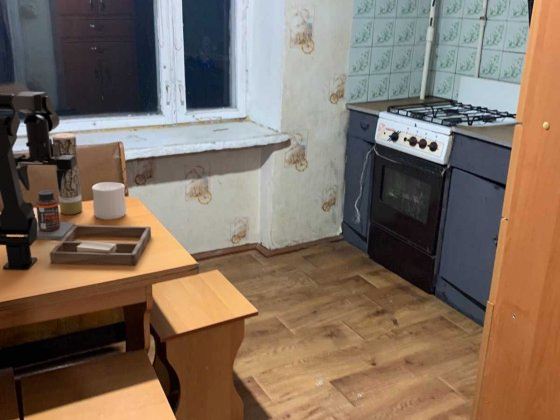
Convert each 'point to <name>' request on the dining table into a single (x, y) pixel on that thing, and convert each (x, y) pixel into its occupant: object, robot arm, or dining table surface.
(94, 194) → the cup
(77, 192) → the patterned tall cylinder
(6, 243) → the robot arm
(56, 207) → the supplement bottle
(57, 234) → the mat
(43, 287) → the dining table surface
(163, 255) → the dining table surface
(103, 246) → the offcut top
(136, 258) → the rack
